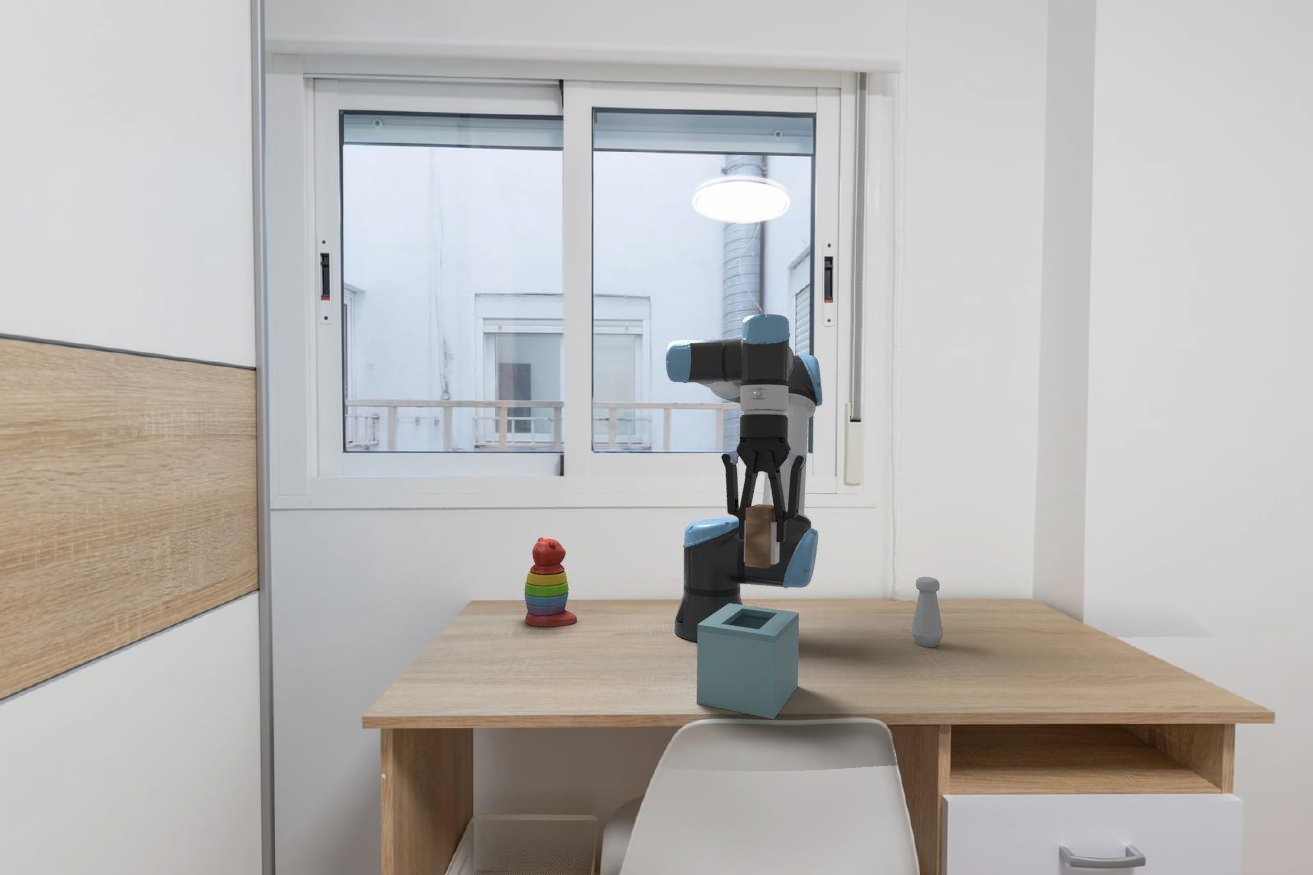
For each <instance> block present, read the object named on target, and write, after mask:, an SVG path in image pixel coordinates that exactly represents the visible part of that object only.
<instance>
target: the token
mask: <svg viewBox="0 0 1313 875" xmlns="http://www.w3.org/2000/svg"><path fill="white" fill-rule="evenodd" d="M775 519H776V518H775V511H774V505H767V504H763V503H757V504H754V505H751V507H748V508H746V530H745V566H748V567H758V568H768V567H770V566H771V565H773V564H770V563H771V522H773V521H775Z"/></svg>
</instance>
